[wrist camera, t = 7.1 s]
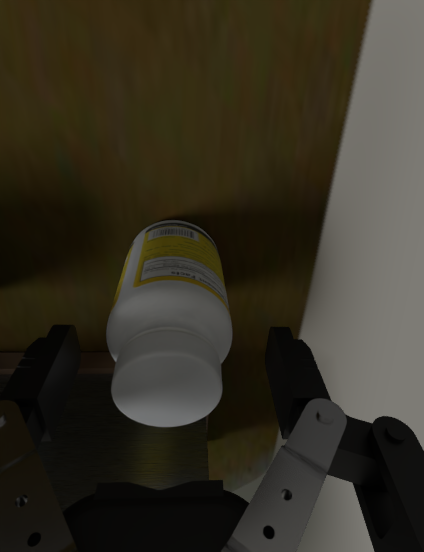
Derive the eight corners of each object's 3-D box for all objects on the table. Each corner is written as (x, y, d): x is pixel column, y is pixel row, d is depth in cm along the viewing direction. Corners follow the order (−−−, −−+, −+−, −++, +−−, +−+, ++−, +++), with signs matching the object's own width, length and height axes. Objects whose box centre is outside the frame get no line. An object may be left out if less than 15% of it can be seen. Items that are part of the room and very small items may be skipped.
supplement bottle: (171, 310, 22) (160, 455, 14) (109, 254, 20) (52, 390, 12) (238, 264, 21) (270, 397, 13) (179, 197, 18) (171, 308, 10)
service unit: (-19, 447, 29) (-150, 689, 18) (-69, 353, 23) (-310, 623, 12) (204, 442, 30) (213, 664, 19) (210, 351, 25) (227, 593, 13)
